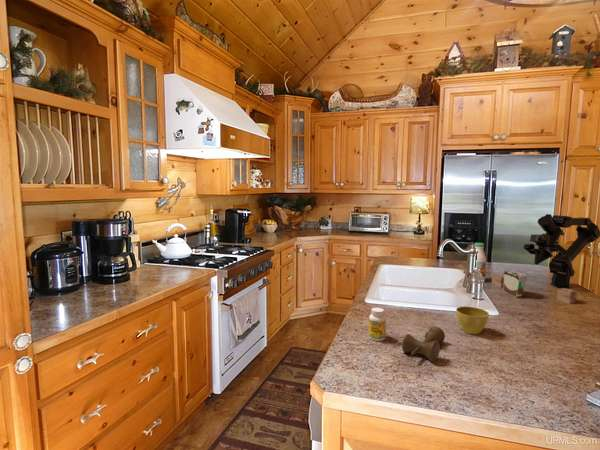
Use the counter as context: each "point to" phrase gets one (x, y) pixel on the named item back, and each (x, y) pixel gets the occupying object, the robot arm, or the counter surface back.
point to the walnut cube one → (498, 280)
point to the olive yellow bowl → (472, 319)
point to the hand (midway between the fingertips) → (535, 264)
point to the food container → (514, 283)
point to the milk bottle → (481, 258)
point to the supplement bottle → (377, 324)
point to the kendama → (425, 344)
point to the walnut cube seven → (566, 295)
